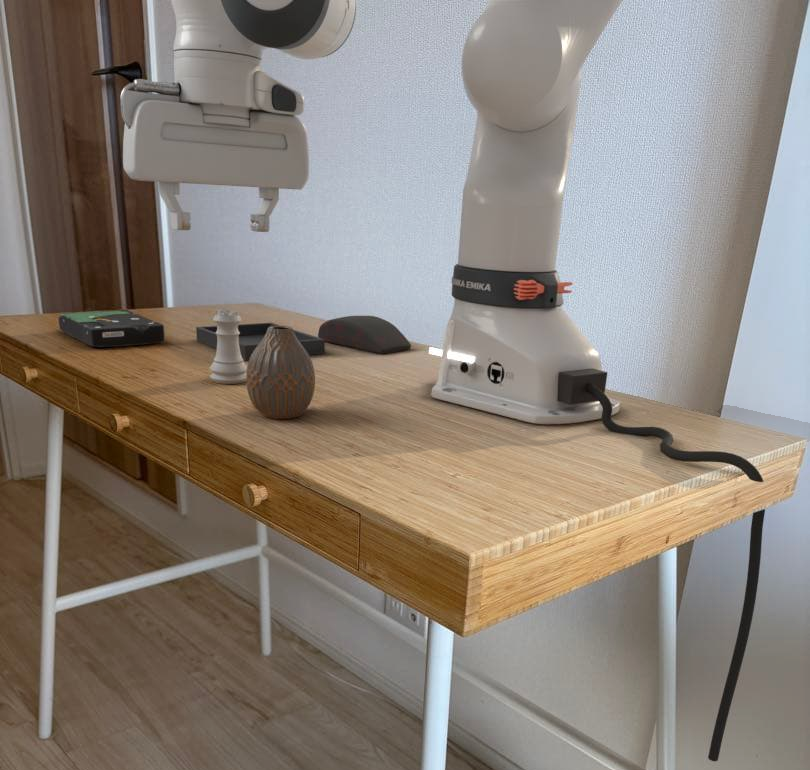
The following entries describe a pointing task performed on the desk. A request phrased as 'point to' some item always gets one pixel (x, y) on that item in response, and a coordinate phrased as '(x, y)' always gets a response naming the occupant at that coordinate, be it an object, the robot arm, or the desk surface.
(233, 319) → the rook chess piece
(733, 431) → the desk surface
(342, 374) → the desk surface
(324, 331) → the computer mouse
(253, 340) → the tray
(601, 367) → the robot arm
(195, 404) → the desk surface
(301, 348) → the vase
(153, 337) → the disk drive
